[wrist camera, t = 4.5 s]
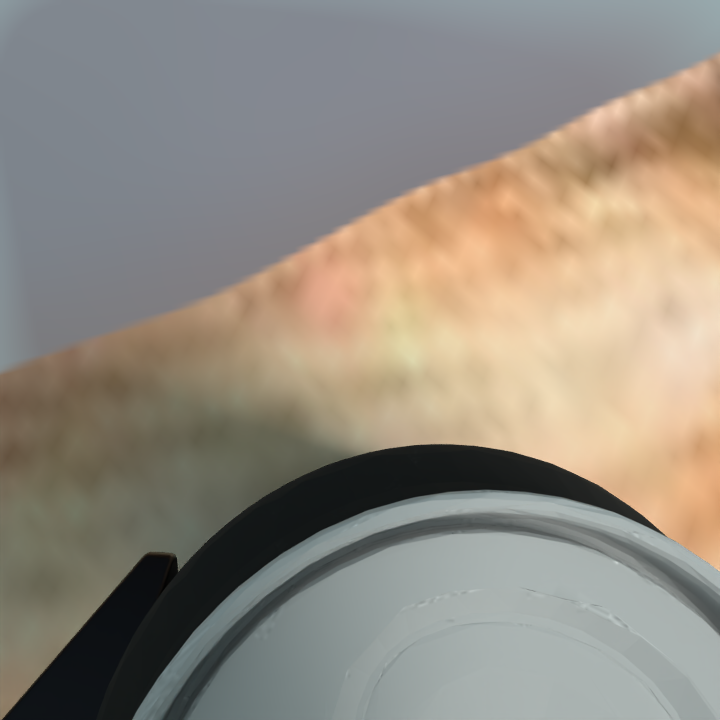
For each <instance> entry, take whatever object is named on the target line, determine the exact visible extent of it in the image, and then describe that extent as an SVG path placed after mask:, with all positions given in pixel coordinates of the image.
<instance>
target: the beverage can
mask: <svg viewBox="0 0 720 720" xmlns="http://www.w3.org/2000/svg"><path fill="white" fill-rule="evenodd" d="M96 720H720V572H719V571H718V570H716V569H715V568H714V567H713V566H711V565H710V564H709V563H707V562H706V561H704V560H703V559H701V558H700V557H698V556H697V555H695V554H694V553H692V552H691V551H689V550H688V549H686V548H685V547H683V546H682V545H680V544H679V543H677V542H676V541H674V540H672V539H670V538H668V537H667V536H665V535H664V534H663V533H662V532H661V531H660V530H659V529H657V528H656V527H655V526H654V525H653V524H652V523H650V522H649V521H648V520H647V519H646V518H645V517H644V516H642V515H641V514H640V513H638V512H637V511H636V510H634V509H633V508H631V507H630V506H629V505H627V504H626V503H624V502H623V501H621V500H620V499H618V498H617V497H615V496H614V495H612V494H611V493H609V492H608V491H606V490H605V489H603V488H602V487H600V486H599V485H597V484H595V483H592V482H590V481H588V480H586V479H584V478H582V477H580V476H578V475H576V474H574V473H571V472H569V471H567V470H565V469H562V468H560V467H558V466H556V465H553V464H551V463H548V462H544V461H541V460H538V459H535V458H531V457H528V456H524V455H521V454H517V453H514V452H509V451H504V450H498V449H492V448H485V447H478V446H467V445H453V444H430V445H413V446H405V447H397V448H389V449H384V450H379V451H374V452H369V453H366V454H362V455H358V456H355V457H351V458H348V459H344V460H341V461H338V462H335V463H333V464H330V465H327V466H324V467H322V468H320V469H317V470H315V471H313V472H310V473H308V474H306V475H304V476H302V477H299V478H297V479H295V480H293V481H291V482H289V483H287V484H286V485H284V486H282V487H280V488H279V489H277V490H275V491H273V492H272V493H270V494H268V495H267V496H265V497H264V498H262V499H261V500H259V501H258V502H256V503H255V504H253V505H252V506H250V507H249V508H247V509H246V510H244V511H243V512H242V513H241V514H239V515H238V516H237V517H235V518H234V519H233V520H231V521H230V522H229V523H228V524H226V525H225V526H224V527H223V528H222V529H221V530H220V531H218V532H217V533H216V534H215V535H214V536H213V537H212V538H210V539H209V540H208V541H207V542H206V543H205V544H204V545H203V546H202V547H201V548H200V549H199V550H198V551H197V552H196V553H195V554H194V555H193V556H192V557H191V559H190V560H189V561H188V562H187V563H186V564H185V565H184V566H183V567H182V569H181V570H180V571H179V572H178V573H177V574H176V576H175V577H174V578H173V579H172V581H171V582H170V583H169V584H168V586H167V587H166V588H165V589H164V591H163V592H162V593H161V595H160V596H159V597H158V599H157V600H156V602H155V603H154V605H153V606H152V607H151V609H150V610H149V612H148V613H147V615H146V616H145V618H144V619H143V621H142V622H141V624H140V626H139V627H138V629H137V630H136V632H135V634H134V635H133V637H132V639H131V641H130V643H129V645H128V647H127V649H126V651H125V653H124V654H123V656H122V658H121V660H120V662H119V664H118V667H117V669H116V671H115V673H114V675H113V677H112V679H111V681H110V684H109V686H108V688H107V690H106V693H105V696H104V699H103V701H102V704H101V707H100V710H99V713H98V716H97V719H96Z"/></svg>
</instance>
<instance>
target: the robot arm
mask: <svg viewBox="0 0 720 720" xmlns="http://www.w3.org/2000/svg"><path fill="white" fill-rule="evenodd" d="M177 573H178V565H177V558H176V555H175V554H173V553H165V552H149V553H147V554H145V555H144V556H143V557H142V558H141V560H140V561H139V562H138V563H137V564H136V565H135V566H134V568H133V569H132V570H131V571H130V572H129V573H128V575H127V576H126V577H125V578H124V579H123V580H122V581H121V583H120V584H119V585H118V586H117V587H116V588H115V590H114V591H113V592H112V593H111V594H110V595H109V597H108V598H107V599H106V600H105V601H104V602H103V603H102V605H101V606H100V607H99V608H98V609H97V610H96V612H95V613H94V614H93V615H92V616H91V617H90V618H89V620H88V621H87V622H86V623H85V624H84V625H83V627H82V628H81V629H80V630H79V631H78V632H77V633H76V635H75V636H74V637H73V638H72V639H71V640H70V642H69V643H68V644H67V645H66V646H65V647H64V648H63V650H62V651H61V652H60V653H59V654H58V655H57V657H56V658H55V659H54V660H53V661H52V662H51V664H50V665H49V666H48V667H47V668H46V669H45V670H44V672H43V673H42V674H41V675H40V676H39V677H38V679H37V680H36V681H35V682H34V683H33V684H32V685H31V687H30V688H29V689H28V690H27V691H26V692H25V694H24V695H23V696H22V697H21V698H20V699H19V700H18V702H17V703H16V704H15V705H14V706H13V707H12V709H11V710H10V711H9V712H8V713H7V714H6V716H5V717H4V718H3V719H2V720H96V719H97V716H98V713H99V710H100V707H101V704H102V701H103V699H104V696H105V693H106V690H107V688H108V686H109V684H110V681H111V679H112V677H113V675H114V673H115V671H116V669H117V667H118V664H119V662H120V660H121V658H122V656H123V654H124V653H125V651H126V649H127V647H128V645H129V643H130V641H131V639H132V637H133V635H134V634H135V632H136V630H137V629H138V627H139V626H140V624H141V622H142V621H143V619H144V618H145V616H146V615H147V613H148V612H149V610H150V609H151V607H152V606H153V605H154V603H155V602H156V600H157V599H158V597H159V596H160V595H161V593H162V592H163V591H164V589H165V588H166V587H167V586H168V584H169V583H170V582H171V581H172V579H173V578H174V577H175V576H176V574H177Z"/></svg>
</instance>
